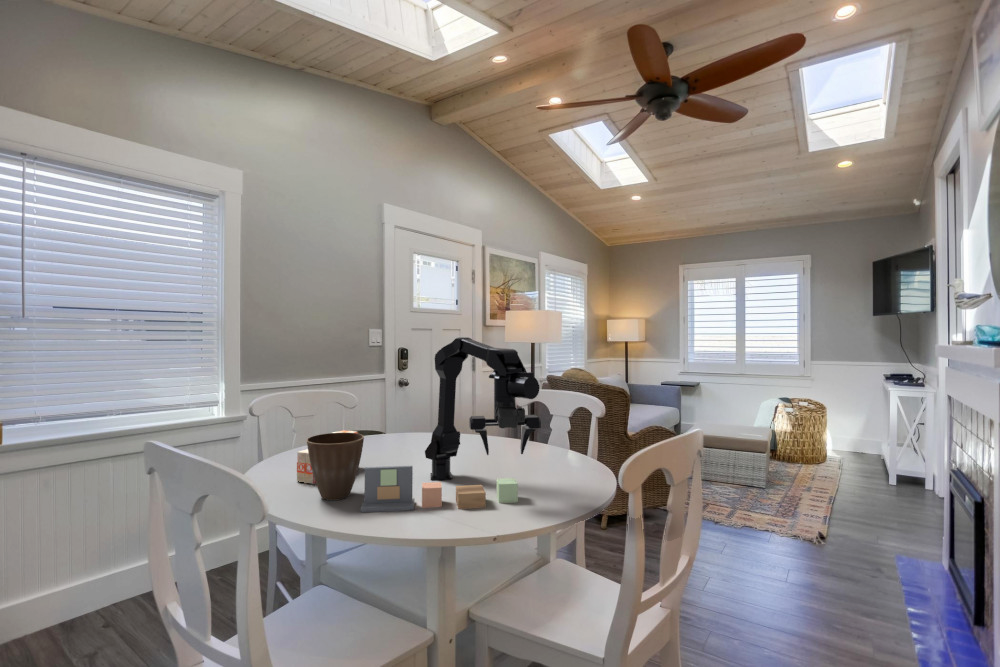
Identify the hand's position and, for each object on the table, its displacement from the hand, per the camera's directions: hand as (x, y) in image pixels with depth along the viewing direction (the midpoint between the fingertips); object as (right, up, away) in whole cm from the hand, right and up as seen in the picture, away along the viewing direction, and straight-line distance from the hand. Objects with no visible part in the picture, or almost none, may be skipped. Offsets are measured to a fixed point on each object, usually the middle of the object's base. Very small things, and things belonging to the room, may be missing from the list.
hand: (504, 454), depth 136 cm
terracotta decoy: (-19, -12, -3) cm, 23 cm away
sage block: (+1, -12, 0) cm, 12 cm away
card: (-30, -12, -6) cm, 33 cm away
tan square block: (-9, -12, -3) cm, 16 cm away
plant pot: (-46, -12, +3) cm, 48 cm away
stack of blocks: (-55, -13, +25) cm, 62 cm away
